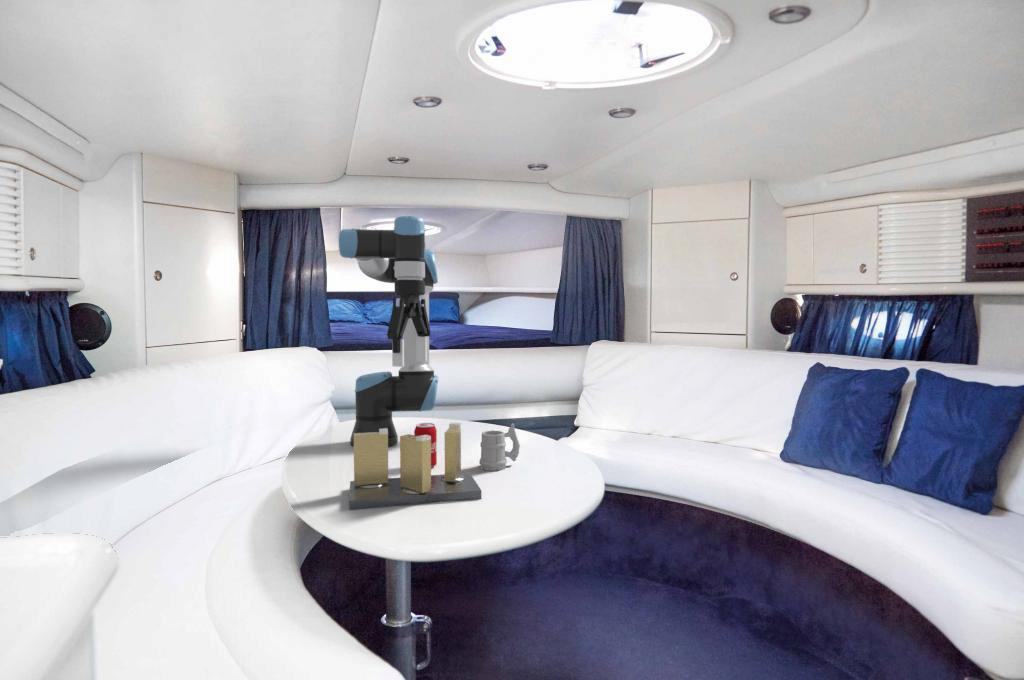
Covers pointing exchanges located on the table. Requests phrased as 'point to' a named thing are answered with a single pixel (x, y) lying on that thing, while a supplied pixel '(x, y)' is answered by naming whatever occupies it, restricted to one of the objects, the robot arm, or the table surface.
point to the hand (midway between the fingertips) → (410, 363)
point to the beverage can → (431, 431)
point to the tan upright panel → (453, 452)
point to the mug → (497, 449)
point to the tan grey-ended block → (415, 462)
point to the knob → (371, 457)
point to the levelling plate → (413, 492)
